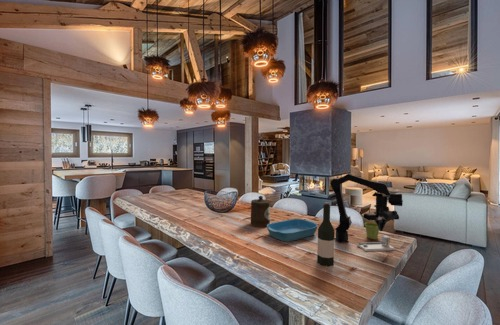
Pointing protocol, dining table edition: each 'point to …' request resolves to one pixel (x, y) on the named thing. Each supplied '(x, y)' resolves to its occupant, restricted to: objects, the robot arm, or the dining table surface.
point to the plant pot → (372, 230)
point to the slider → (385, 241)
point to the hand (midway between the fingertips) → (380, 230)
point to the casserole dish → (292, 229)
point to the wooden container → (260, 212)
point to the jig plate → (374, 246)
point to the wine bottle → (326, 239)
